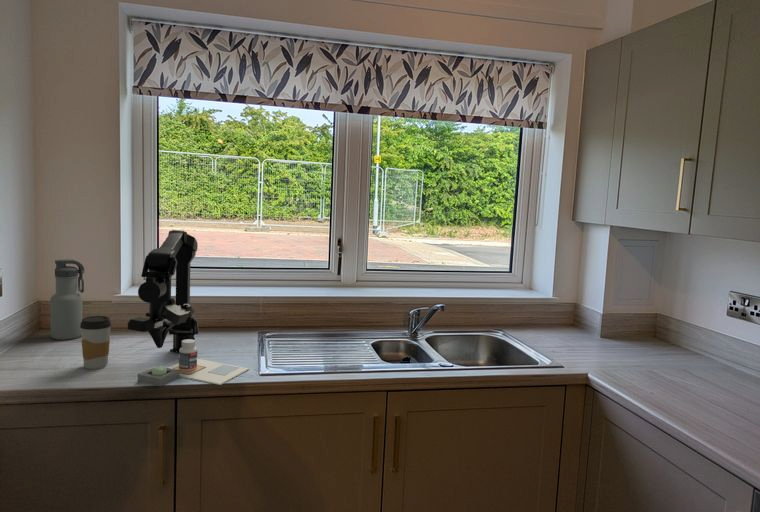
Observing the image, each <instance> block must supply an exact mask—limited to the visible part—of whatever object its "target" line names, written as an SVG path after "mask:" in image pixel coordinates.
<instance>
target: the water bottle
mask: <svg viewBox="0 0 760 512" xmlns="http://www.w3.org/2000/svg"><path fill="white" fill-rule="evenodd" d="M54 264H55V268H54V278H55V293H54V294H53V295H52V296H51V297H50V299H49V300H50V337H51V338H52V339H54V340H57V341H67V340H69V341H70V340H74V339H78V338H80V337H82V335H81V328H80V325H81V324H80V323H81V322H82V319H83V296H82V294H80V293H84V291H85V282H84V281H85V280H84V278H83V274H85V268H84V265H83V264H82V263H81V262H79V260H78V261H77V260H75V259H69V258H68V259H55V260H54ZM68 265H69V266H68ZM70 265H76V266H77V267H76V266H70ZM78 292H80V293H78Z"/></svg>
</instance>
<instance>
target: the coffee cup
mask: <svg viewBox="0 0 760 512" xmlns="http://www.w3.org/2000/svg"><path fill="white" fill-rule="evenodd" d="M80 324H81V325H80V328H81V348H82V349H81V350H82V359H83V367H84V368H85V369H86V370H99V369H104V368H106V367H107V366H108V363H109V362H108V361H109V354H110V353H109V352H110V342H111V341H110V338H111V337H110V336H111V326H112V322H111V320H110V317H109V316H106V315H93V316H92V315H91V316H86V317H82V322H81V323H80Z"/></svg>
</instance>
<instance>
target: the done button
mask: <svg viewBox="0 0 760 512" xmlns="http://www.w3.org/2000/svg"><path fill="white" fill-rule="evenodd" d="M158 366H159V365H158ZM167 368H168V367H166V366H162V365H161V366H159V367H157V366H154V367H152V368H151V369H152V375H155V376H162V375H164V374H166V372H167Z"/></svg>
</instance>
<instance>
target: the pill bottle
mask: <svg viewBox="0 0 760 512" xmlns="http://www.w3.org/2000/svg"><path fill="white" fill-rule="evenodd" d="M194 346H195V347H194ZM197 359H198V348H197V347H196V340H192V339H186V340H183V341H182V347H181V348H180V350H179V353H178V363H179V370H181V371H193V370H195V369H196V368H197Z"/></svg>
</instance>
